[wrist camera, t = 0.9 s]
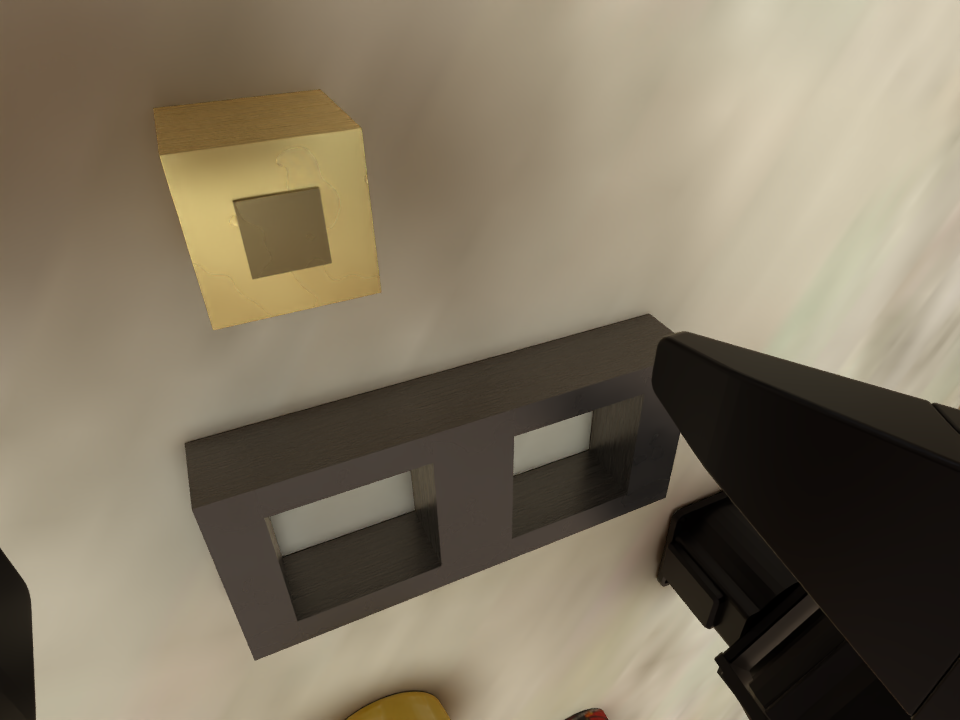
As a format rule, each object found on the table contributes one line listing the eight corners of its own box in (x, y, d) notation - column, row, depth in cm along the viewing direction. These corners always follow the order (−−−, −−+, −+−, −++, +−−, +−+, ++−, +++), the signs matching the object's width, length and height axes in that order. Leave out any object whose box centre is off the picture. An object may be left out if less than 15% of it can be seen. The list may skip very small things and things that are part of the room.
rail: (649, 314, 26) (698, 351, 24) (626, 455, 31) (665, 497, 29) (184, 443, 20) (192, 509, 18) (243, 593, 25) (254, 660, 23)
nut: (319, 88, 17) (362, 129, 13) (341, 232, 19) (382, 294, 16) (153, 107, 15) (159, 157, 12) (198, 258, 18) (213, 332, 14)
